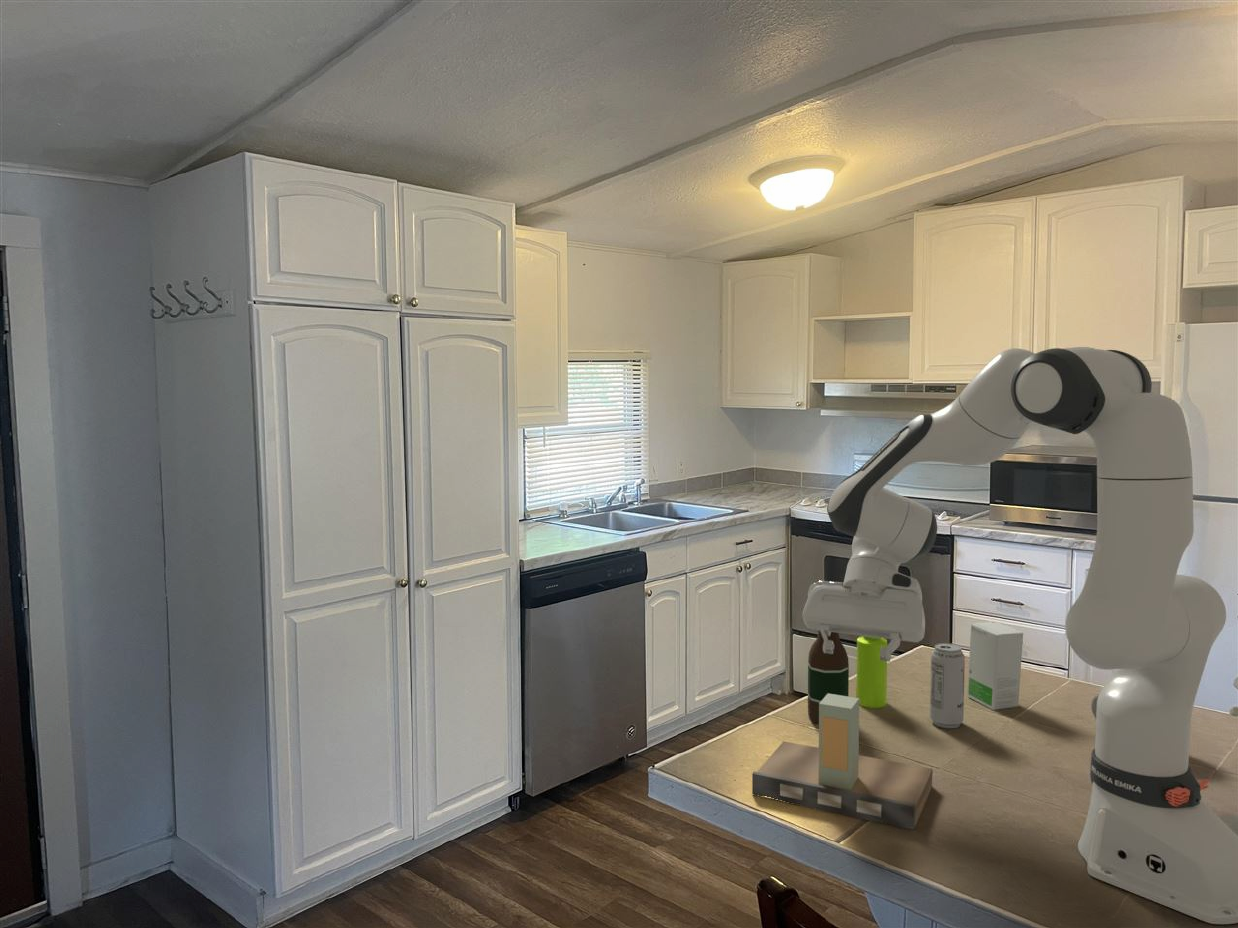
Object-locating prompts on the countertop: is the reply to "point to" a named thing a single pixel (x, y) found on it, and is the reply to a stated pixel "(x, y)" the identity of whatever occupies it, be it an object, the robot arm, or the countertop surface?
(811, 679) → the beer bottle
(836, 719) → the sage carton
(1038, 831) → the countertop surface
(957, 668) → the energy drink can
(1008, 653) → the skincare box
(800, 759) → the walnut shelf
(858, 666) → the soap dispenser
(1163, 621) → the robot arm
